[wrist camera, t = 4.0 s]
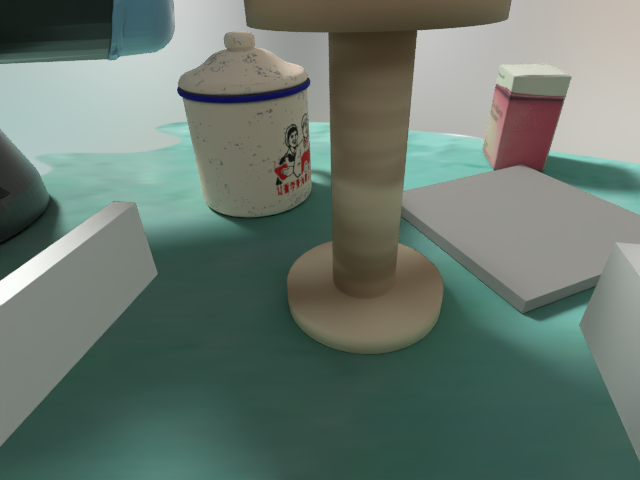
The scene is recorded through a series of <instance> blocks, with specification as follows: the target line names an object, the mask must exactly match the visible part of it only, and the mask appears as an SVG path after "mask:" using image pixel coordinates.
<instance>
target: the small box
mask: <svg viewBox="0 0 640 480" xmlns="http://www.w3.org/2000/svg"><path fill="white" fill-rule="evenodd" d="M570 80H571V75H569V74H567V73H565V72H563V71H562V70H561V69H559V68H556V67H554V66H551V65H549V64H527V65H500V67H499V72H498V77H497V82H496V87H495V92H494V97H493V102H492V107H491V111H490V116H489V121H488V126H487V131H486V135H485V140H484V145H483V152H484V154H485V156H486V158H487V159H488V161H489V163H490V164H491V166H492V167H493V169H495V170H500V169H504V168H509V167H513V166H517V165H525V166H527V167H529V168H532V169H534V170H536V171H543V170H544V167H545V164H546V161H547V157H548V154H549V151H550V147H551V144H552V140H553V137H554V134H555V130H556V127H557V123H558V120H559V117H560V113H561V110H562V107H563V104H564V100H565V97H566V93H567V90H568V87H569V83H570Z"/></svg>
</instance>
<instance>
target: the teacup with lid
mask: <svg viewBox="0 0 640 480" xmlns="http://www.w3.org/2000/svg"><path fill="white" fill-rule="evenodd" d="M224 44H225V47H226V48H227V50H222V51H219V52H217V53H214V54H213V55H212V56H210V57H209V58H208V59H207V60H206V61H205V62H204V63H203V64H202V65H201V66H199V67H197V68H196V69H193V70H191V71H188V72H186V73H184V74H183V75H182V76H181V77H180V79H179V82H178V85H179V86H178V89H177V91H178V94H179V95H180V96H181V97H183V101H184V106H185V111H186V116H187V121H188V125H189V130H190V135H191V140H192V144H193V149H194V154H195V159H196V163H197V168H198V173H199V178H200V182H201V187H202V192H203V197H204V200H205V202H206V203H207V205H208V206H209V207H211V208H212V209H213V210H215V211H217V212H219V213H222V214H226V215H230V216H236V217H262V216H269V215H274V214H278V213H281V212H284V211H287V210H290V209H292V208H294V207H296V206H297V205H299V204H300V203H302V202H303V201H304V200H305V199H306V198H307V197H308V196H309V194H310V192H311V186H312V184H311V163H310V142H309V121H308V102H307V88H308V86H309V85H310V79H309V78H308V74H307V72H306V71H305V69H304V68H303V67H301V66H299V65H296V64H292V63H288V62H285V61H283V60H282V59H280V58H278V57H277V56H276V55H274V54H273V53H271V52H269V51H267V50H264V49H260V48H254V46H255V38H254V35H253V34H252V33H251V32H248V31H239V32H229V33H226V34H225V37H224Z"/></svg>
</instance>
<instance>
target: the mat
mask: <svg viewBox="0 0 640 480" xmlns="http://www.w3.org/2000/svg"><path fill="white" fill-rule="evenodd" d="M401 216H402V217H403V218H404V219H406V220H407V221H408V222H409V223H411V224H412V225H413V226H414V227H416V228H417V229H418V230H419V231H420V232H422V233H423V234H424V235H425V236H427V237H428V238H429V239H430V240H432V241H433V242H434V243H435V244H437V245H438V246H439V247H440V248H442V249H443V250H444V251H445V252H446V253H448V254H449V255H450V256H451V257H453V258H454V259H455V260H456V261H458V262H459V263H460V264H461V265H463V266H464V267H465V268H466V269H467V270H469V271H470V272H471V273H472V274H474V275H475V276H476V277H477V278H479V279H480V280H481V281H482V282H484V283H485V284H486V285H487V286H489V287H490V288H491V289H492V290H493V291H495V292H496V293H497V294H498V295H500V296H501V297H502V298H503V299H505V300H506V301H507V302H508V303H510V304H511V305H512V306H513V307H515V308H516V309H517V310H518V311H519V312H521V313H525V312H528V311H530V310H533V309H536V308H538V307H541V306H544V305H546V304H549V303H552V302H554V301H557V300H560V299H562V298H565V297H568V296H570V295H573V294H576V293H578V292H581V291H584V290H586V289H589V288H592V287H594V286H596V285H597V283H598V281H599V278H600V276H601V274H602V272H603V269H604V267H605V265H606V262H607V260H608V258H609V255H610V253H611V251H612V249H613V246H614V244H615V242H619V243H631V244H640V215H638V214H636V213H633V212H631V211H629V210H626V209H624V208H622V207H619V206H617V205H615V204H612V203H610V202H608V201H606V200H603V199H601V198H599V197H596V196H594V195H592V194H589V193H587V192H585V191H582V190H580V189H578V188H575V187H573V186H571V185H569V184H566V183H564V182H562V181H559V180H557V179H555V178H552V177H550V176H548V175H545V174H543V173H541V172H539V171H536V170H534V169H532V168H529V167H527V166H525V165H517V166H513V167H509V168H504V169H500V170H495V171H491V172H487V173H482V174H478V175H473V176H469V177H464V178H460V179H456V180H451V181H447V182H442V183H438V184H434V185H429V186H425V187H420V188H416V189H412V190H407V191H403V196H402V208H401Z"/></svg>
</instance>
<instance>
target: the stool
mask: <svg viewBox="0 0 640 480" xmlns="http://www.w3.org/2000/svg"><path fill="white" fill-rule="evenodd" d="M244 5H245V14H246V22H247V26H248V27H251V28H255V29H262V30H272V31H289V32H329V86H330V142H331V197H332V241H329V242H326V243H323V244H321V245H318V246H316V247H314V248H312V249H310V250H309V251H307V252H306V253H304V254H303V255H302V256H300V257H299V258H298V259H297V260H296V262H295V263H294V264H293V266H292V267H291V269H290V271H289V273H288V277H287V293H288V303H289V309H290V312H291V315H292V317H293V319H294V321H295V322H296V324H297V325H298V326H299V327H300V328H301V330H302V331H303V332H305V333H306V334H307V335H308V336H309V337H311V338H313V339H314V340H316V341H317V342H319V343H321V344H323V345H325V346H328V347H331V348H334V349H336V350H340V351H345V352H349V353H357V354H381V353H388V352H393V351H397V350H400V349H403V348H406V347H408V346H410V345H413V344H415V343H416V342H418V341H420V340H421V339H422V338H424V337H425V336H426V335H427V334H428V333H429V332H430V331H431V330H432V329H433V328H434V326H435V324H436V323H437V321H438V318H439V315H440V310H441V304H442V299H443V292H444V286H443V280H442V277H441V275H440V273H439V271H438V270H437V268H436V267H435V266H434V264H433V263H432V262H431V261H430V260H429V259H427V258H426V257H425V256H424V255H422V254H421V253H419V252H418V251H416V250H414V249H412V248H410V247H408V246H405V245H403V244H400V243H398V242H399V230H400V219H401V208H402V196H403V185H404V174H405V162H406V151H407V140H408V128H409V117H410V106H411V94H412V82H413V71H414V60H415V49H416V37H417V30H429V29H444V28H457V27H467V26H476V25H485V24H491V23H497V22H501V21H504V20H507V19H508V16H509V11H510V6H511V0H244Z"/></svg>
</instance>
